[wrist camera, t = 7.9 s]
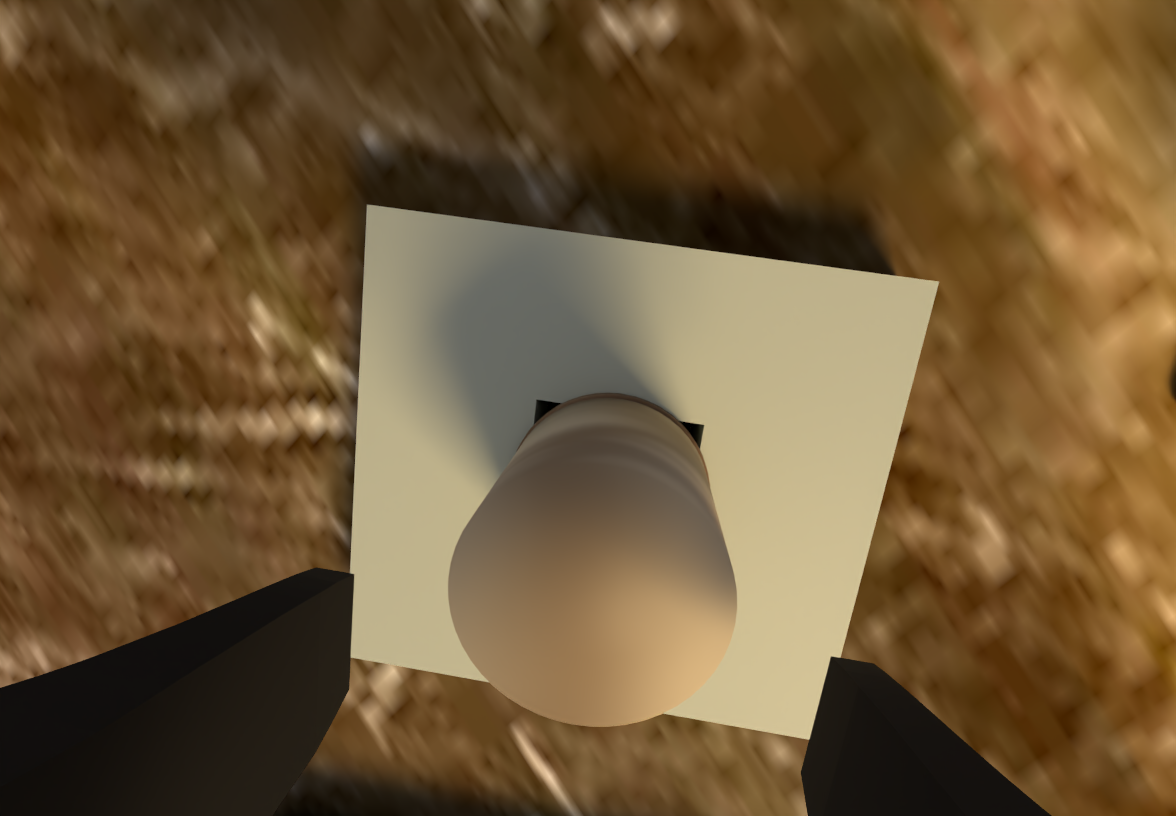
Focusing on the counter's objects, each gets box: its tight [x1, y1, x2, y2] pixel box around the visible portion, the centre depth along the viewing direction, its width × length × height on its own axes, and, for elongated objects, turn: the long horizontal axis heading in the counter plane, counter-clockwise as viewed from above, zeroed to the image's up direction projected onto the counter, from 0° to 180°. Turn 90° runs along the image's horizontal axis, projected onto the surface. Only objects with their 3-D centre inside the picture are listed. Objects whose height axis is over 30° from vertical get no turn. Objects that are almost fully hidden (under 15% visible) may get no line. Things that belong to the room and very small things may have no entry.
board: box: [350, 205, 939, 739], centre depth 18 cm, size 14×13×2 cm
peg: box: [448, 393, 737, 727], centre depth 15 cm, size 5×5×8 cm
